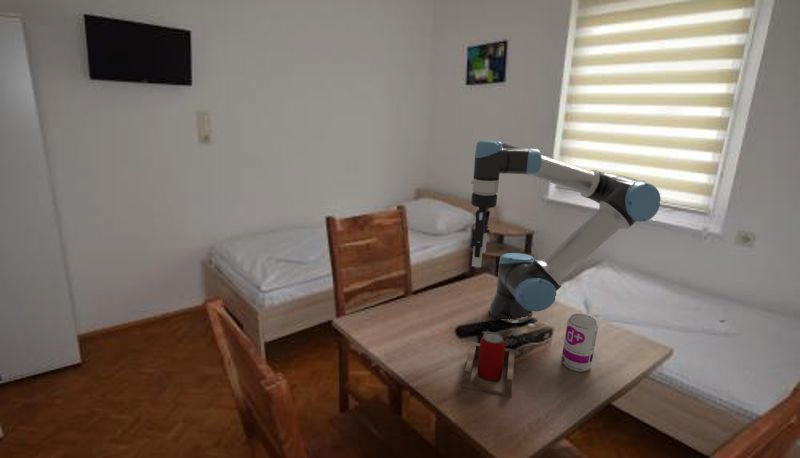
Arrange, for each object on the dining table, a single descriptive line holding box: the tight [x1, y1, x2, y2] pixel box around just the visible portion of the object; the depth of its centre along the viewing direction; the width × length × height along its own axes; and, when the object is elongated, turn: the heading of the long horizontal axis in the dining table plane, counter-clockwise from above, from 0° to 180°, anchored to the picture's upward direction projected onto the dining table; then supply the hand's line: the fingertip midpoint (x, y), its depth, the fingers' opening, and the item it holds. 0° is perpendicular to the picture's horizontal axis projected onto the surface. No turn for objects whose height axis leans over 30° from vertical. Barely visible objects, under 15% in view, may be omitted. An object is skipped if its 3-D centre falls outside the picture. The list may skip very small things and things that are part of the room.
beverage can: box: [478, 331, 506, 380], centre depth 119 cm, size 7×7×12 cm
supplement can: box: [561, 313, 599, 372], centre depth 126 cm, size 8×8×15 cm
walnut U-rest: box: [462, 342, 516, 398], centre depth 121 cm, size 15×13×5 cm
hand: (478, 259), depth 135 cm, fingers open, 13 cm apart
